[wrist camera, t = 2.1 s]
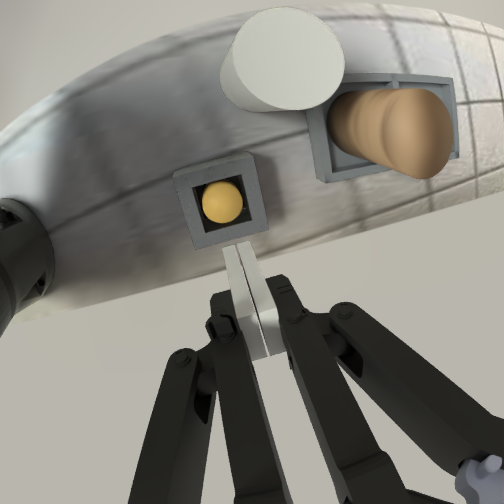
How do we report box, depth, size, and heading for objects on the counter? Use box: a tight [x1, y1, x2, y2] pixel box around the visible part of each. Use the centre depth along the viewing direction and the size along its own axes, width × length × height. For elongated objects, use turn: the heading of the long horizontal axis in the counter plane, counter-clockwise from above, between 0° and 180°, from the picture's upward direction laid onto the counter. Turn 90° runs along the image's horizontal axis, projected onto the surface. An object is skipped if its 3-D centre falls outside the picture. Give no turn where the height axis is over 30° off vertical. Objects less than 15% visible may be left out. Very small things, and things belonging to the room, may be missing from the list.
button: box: [202, 179, 243, 223], centre depth 30 cm, size 4×4×3 cm
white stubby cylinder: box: [220, 7, 345, 112], centre depth 22 cm, size 8×8×12 cm
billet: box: [327, 88, 453, 179], centre depth 25 cm, size 8×8×12 cm
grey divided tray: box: [305, 73, 459, 184], centre depth 30 cm, size 23×12×3 cm, turn 102°
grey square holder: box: [173, 151, 269, 250], centre depth 30 cm, size 8×8×4 cm
